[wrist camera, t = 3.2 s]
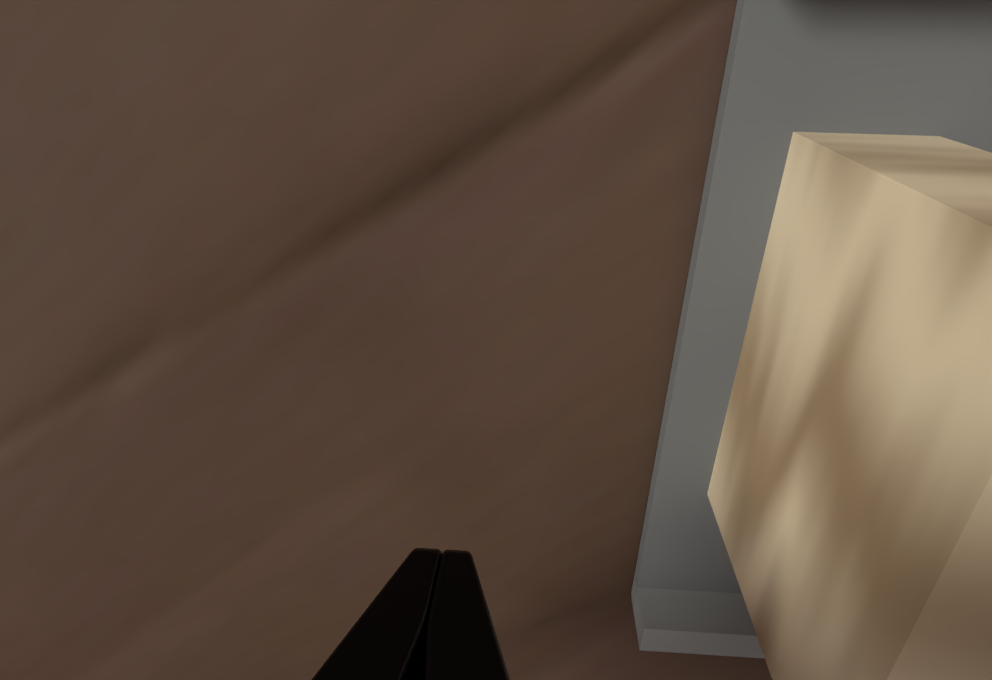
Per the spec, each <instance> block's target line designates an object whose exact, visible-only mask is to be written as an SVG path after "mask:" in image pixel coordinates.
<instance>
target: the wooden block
mask: <svg viewBox="0 0 992 680" xmlns="http://www.w3.org/2000/svg"><path fill="white" fill-rule="evenodd" d="M707 495H708V498H709V501H710V503H711V506H712V509H713V512H714V515H715V518H716V521H717V523H718V526H719V529H720V532H721V535H722V538H723V541H724V543H725V546H726V549H727V552H728V555H729V558H730V561H731V563H732V566H733V569H734V572H735V575H736V578H737V580H738V583H739V586H740V589H741V592H742V595H743V598H744V600H745V603H746V606H747V609H748V612H749V615H750V618H751V620H752V623H753V626H754V629H755V632H756V635H757V638H758V640H759V643H760V646H761V649H762V652H763V655H764V657H765V660H766V663H767V666H768V669H769V672H770V675H771V677H772V680H992V153H991V152H988V151H985V150H982V149H979V148H975V147H972V146H969V145H966V144H963V143H960V142H956V141H953V140H950V139H947V138H944V137H941V136H918V135H885V134H852V133H819V132H793V134H792V138H791V143H790V147H789V151H788V155H787V159H786V164H785V168H784V172H783V176H782V181H781V185H780V189H779V193H778V197H777V202H776V206H775V210H774V214H773V219H772V223H771V227H770V231H769V235H768V240H767V244H766V248H765V252H764V256H763V261H762V265H761V269H760V273H759V278H758V282H757V286H756V290H755V294H754V299H753V303H752V307H751V311H750V316H749V320H748V324H747V328H746V332H745V337H744V341H743V345H742V349H741V353H740V358H739V362H738V366H737V370H736V375H735V379H734V383H733V387H732V391H731V396H730V400H729V404H728V408H727V412H726V417H725V421H724V425H723V429H722V434H721V438H720V442H719V446H718V450H717V455H716V459H715V463H714V467H713V472H712V476H711V480H710V484H709V488H708V493H707Z"/></svg>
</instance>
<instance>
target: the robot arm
mask: <svg viewBox="0 0 992 680" xmlns="http://www.w3.org/2000/svg"><path fill="white" fill-rule="evenodd" d="M312 680H510V678H509V675H508V672H507V668H506V665H505V662H504V659H503V655H502V652H501V649H500V646H499V642H498V639H497V636H496V632H495V629H494V626H493V623H492V619H491V616H490V613H489V610H488V606H487V603H486V600H485V597H484V593H483V590H482V587H481V584H480V580H479V577H478V574H477V571H476V567H475V564H474V561H473V558H472V555H471V553H470V552H468V551H460V550H445V551H444V552H443V553H442V552H441V551H440V550H438V549H427V548H416V549H414V550H413V551H412V552H411V553H410V554H409V555H408V557H407V558H406V559H405V561H404V562H403V563H402V564H401V566H400V567H399V568H398V569H397V571H396V572H395V573H394V575H393V576H392V577H391V578H390V580H389V581H388V582H387V584H386V585H385V586H384V587H383V589H382V590H381V591H380V593H379V594H378V595H377V596H376V598H375V599H374V600H373V602H372V603H371V604H370V605H369V607H368V608H367V609H366V611H365V612H364V613H363V614H362V616H361V617H360V618H359V619H358V621H357V622H356V623H355V625H354V626H353V627H352V628H351V630H350V631H349V632H348V634H347V635H346V636H345V637H344V639H343V640H342V641H341V643H340V644H339V645H338V646H337V648H336V649H335V650H334V652H333V653H332V654H331V655H330V657H329V658H328V659H327V660H326V662H325V663H324V664H323V666H322V667H321V668H320V669H319V671H318V672H317V673H316V675H315V676H314V677H313V678H312Z"/></svg>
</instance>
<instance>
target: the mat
mask: <svg viewBox="0 0 992 680" xmlns="http://www.w3.org/2000/svg"><path fill="white" fill-rule="evenodd" d="M793 132H819V133H852V134H885V135H918V136H941V137H944V138H947V139H950V140H953V141H956V142H960V143H963V144H966V145H969V146H972V147H975V148H979V149H982V150H985V151H988V152H991V153H992V0H737V5H736V11H735V16H734V22H733V28H732V33H731V39H730V44H729V50H728V56H727V61H726V67H725V72H724V78H723V84H722V89H721V95H720V100H719V106H718V111H717V117H716V123H715V128H714V134H713V139H712V145H711V151H710V156H709V162H708V167H707V173H706V179H705V184H704V190H703V195H702V201H701V206H700V212H699V218H698V223H697V229H696V234H695V240H694V246H693V251H692V257H691V262H690V268H689V274H688V279H687V285H686V290H685V296H684V301H683V307H682V313H681V318H680V324H679V329H678V335H677V341H676V346H675V352H674V357H673V363H672V369H671V374H670V380H669V385H668V391H667V396H666V402H665V408H664V413H663V419H662V424H661V430H660V436H659V441H658V447H657V452H656V458H655V463H654V469H653V475H652V480H651V486H650V491H649V497H648V503H647V508H646V514H645V519H644V525H643V531H642V536H641V542H640V547H639V553H638V558H637V564H636V570H635V575H634V581H633V586H632V592H631V600H632V606H633V612H634V618H635V625H636V631H637V637H638V643H639V650H642V651H657V652H673V653H688V654H703V655H718V656H734V657H749V658H764V659H765V657H764V655H763V652H762V649H761V646H760V643H759V640H758V638H757V635H756V632H755V629H754V626H753V623H752V620H751V618H750V615H749V612H748V609H747V606H746V603H745V600H744V598H743V595H742V592H741V589H740V586H739V583H738V580H737V578H736V575H735V572H734V569H733V566H732V563H731V561H730V558H729V555H728V552H727V549H726V546H725V543H724V541H723V538H722V535H721V532H720V529H719V526H718V523H717V521H716V518H715V515H714V512H713V509H712V506H711V503H710V501H709V498H708V495H707V493H708V488H709V484H710V480H711V476H712V472H713V467H714V463H715V459H716V455H717V450H718V446H719V442H720V438H721V434H722V429H723V425H724V421H725V417H726V412H727V408H728V404H729V400H730V396H731V391H732V387H733V383H734V379H735V375H736V370H737V366H738V362H739V358H740V353H741V349H742V345H743V341H744V337H745V332H746V328H747V324H748V320H749V316H750V311H751V307H752V303H753V299H754V294H755V290H756V286H757V282H758V278H759V273H760V269H761V265H762V261H763V256H764V252H765V248H766V244H767V240H768V235H769V231H770V227H771V223H772V219H773V214H774V210H775V206H776V202H777V197H778V193H779V189H780V185H781V181H782V176H783V172H784V168H785V164H786V159H787V155H788V151H789V147H790V143H791V138H792V134H793Z"/></svg>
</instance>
